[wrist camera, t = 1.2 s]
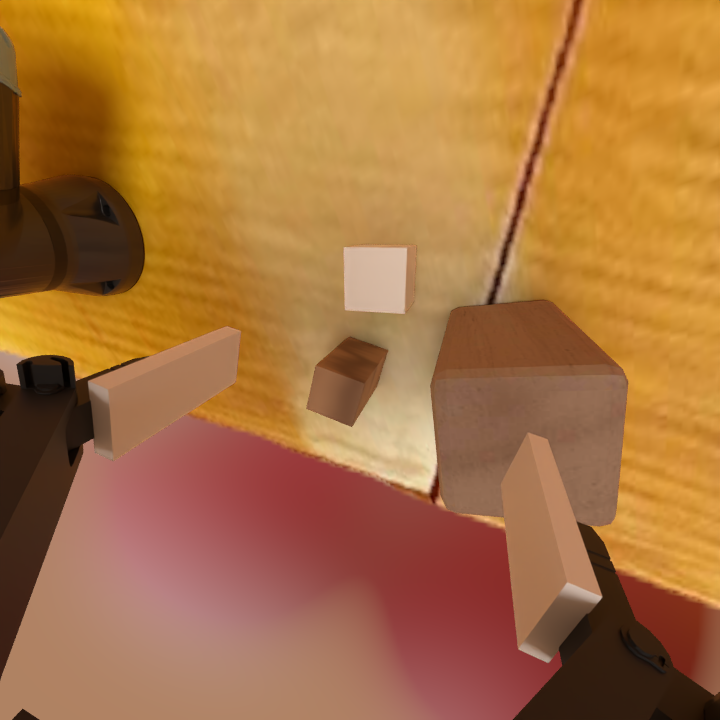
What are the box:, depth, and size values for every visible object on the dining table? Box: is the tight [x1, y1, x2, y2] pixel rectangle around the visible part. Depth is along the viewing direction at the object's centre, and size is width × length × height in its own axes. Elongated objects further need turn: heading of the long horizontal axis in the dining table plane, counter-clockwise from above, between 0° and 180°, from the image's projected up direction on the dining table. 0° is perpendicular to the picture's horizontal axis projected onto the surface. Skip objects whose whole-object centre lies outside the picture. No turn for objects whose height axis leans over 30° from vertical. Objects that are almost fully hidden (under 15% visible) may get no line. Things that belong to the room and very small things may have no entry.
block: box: [430, 300, 628, 526], centre depth 29 cm, size 10×10×20 cm
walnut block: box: [306, 337, 388, 427], centre depth 39 cm, size 5×5×10 cm
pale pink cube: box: [344, 245, 417, 314], centre depth 36 cm, size 6×6×6 cm
